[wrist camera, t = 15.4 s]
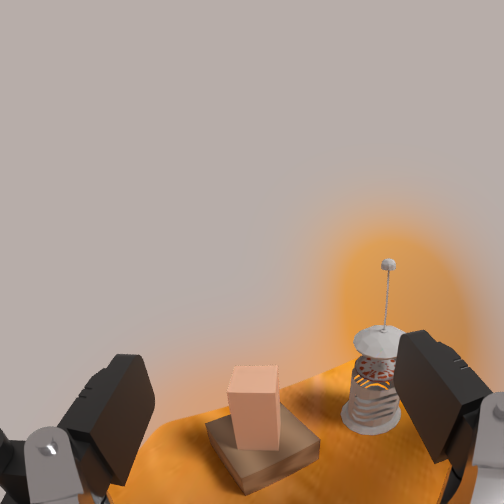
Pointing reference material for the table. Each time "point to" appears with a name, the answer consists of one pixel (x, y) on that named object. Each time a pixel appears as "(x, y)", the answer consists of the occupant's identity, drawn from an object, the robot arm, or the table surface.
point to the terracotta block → (255, 407)
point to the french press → (374, 378)
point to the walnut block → (264, 452)
